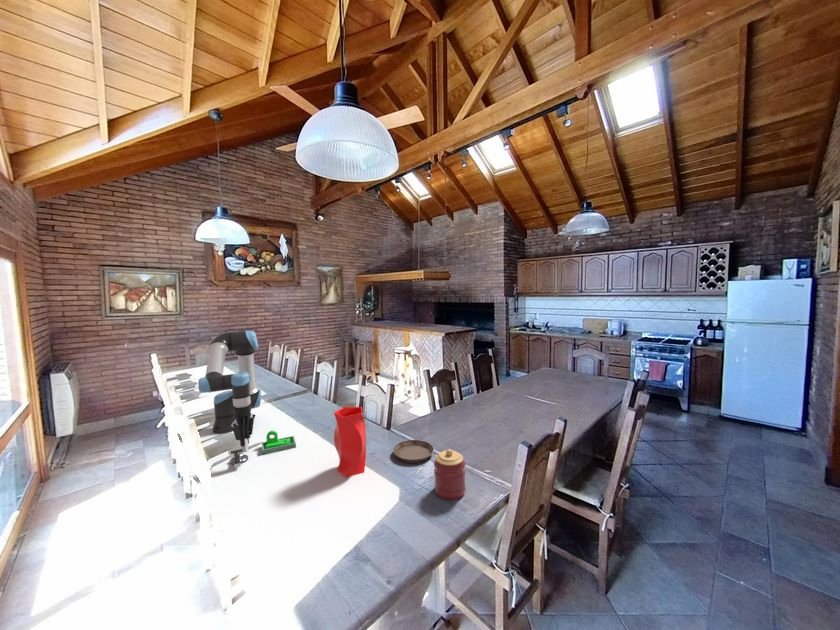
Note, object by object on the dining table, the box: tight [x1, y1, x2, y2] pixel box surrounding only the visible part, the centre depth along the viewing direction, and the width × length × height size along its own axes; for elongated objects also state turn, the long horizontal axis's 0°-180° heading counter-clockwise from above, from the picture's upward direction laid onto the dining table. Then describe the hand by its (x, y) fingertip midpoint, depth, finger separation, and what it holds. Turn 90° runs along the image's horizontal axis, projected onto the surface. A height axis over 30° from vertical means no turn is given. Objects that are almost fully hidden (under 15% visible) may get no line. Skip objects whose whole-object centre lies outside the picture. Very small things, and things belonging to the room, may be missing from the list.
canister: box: [433, 448, 467, 500], centre depth 134 cm, size 13×13×18 cm
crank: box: [230, 448, 244, 468], centre depth 160 cm, size 12×5×8 cm, turn 26°
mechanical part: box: [266, 430, 290, 449], centre depth 178 cm, size 12×6×8 cm, turn 110°
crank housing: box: [229, 454, 249, 466], centre depth 164 cm, size 8×8×1 cm
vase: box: [333, 406, 367, 478], centre depth 152 cm, size 15×14×28 cm
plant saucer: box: [392, 439, 435, 464], centre depth 166 cm, size 21×21×3 cm
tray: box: [261, 435, 297, 456], centre depth 178 cm, size 11×17×2 cm, turn 117°
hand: (245, 451), depth 159 cm, fingers closed
